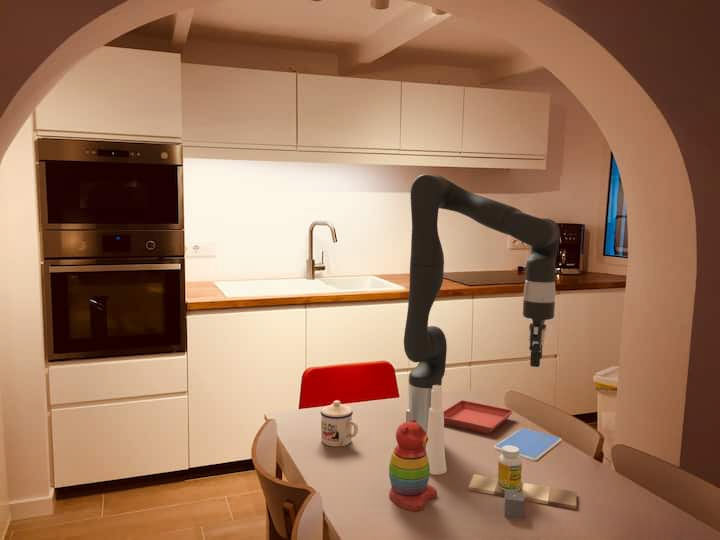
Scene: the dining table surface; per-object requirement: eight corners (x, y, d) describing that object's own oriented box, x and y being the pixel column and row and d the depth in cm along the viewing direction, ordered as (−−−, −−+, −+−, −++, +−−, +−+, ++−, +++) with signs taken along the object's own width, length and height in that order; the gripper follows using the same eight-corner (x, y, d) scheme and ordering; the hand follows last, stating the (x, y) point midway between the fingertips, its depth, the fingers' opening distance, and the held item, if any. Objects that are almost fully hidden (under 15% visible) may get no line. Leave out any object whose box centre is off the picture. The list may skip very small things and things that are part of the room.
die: (504, 516, 128) (504, 498, 127) (503, 507, 132) (504, 490, 131) (523, 518, 127) (524, 501, 126) (522, 509, 131) (523, 492, 130)
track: (468, 489, 139) (468, 486, 139) (473, 477, 146) (473, 474, 146) (576, 509, 131) (576, 506, 131) (576, 495, 137) (576, 491, 137)
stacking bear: (419, 513, 128) (421, 435, 126) (379, 501, 134) (380, 425, 132) (439, 493, 137) (441, 420, 135) (401, 482, 143) (403, 411, 141)
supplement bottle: (508, 480, 143) (509, 442, 142) (525, 488, 138) (527, 449, 137) (492, 485, 140) (494, 447, 139) (509, 494, 135) (511, 455, 134)
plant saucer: (436, 425, 181) (436, 414, 181) (461, 408, 196) (461, 399, 196) (492, 438, 171) (492, 427, 171) (513, 420, 186) (514, 410, 186)
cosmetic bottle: (427, 462, 154) (429, 381, 151) (449, 467, 151) (452, 384, 149) (419, 472, 148) (421, 387, 146) (442, 477, 146) (444, 391, 143)
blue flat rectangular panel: (522, 430, 178) (522, 426, 178) (562, 441, 170) (563, 437, 170) (492, 450, 163) (492, 446, 163) (535, 463, 155) (536, 459, 155)
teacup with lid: (313, 441, 166) (314, 402, 165) (334, 432, 174) (334, 394, 172) (346, 453, 159) (347, 411, 158) (366, 442, 166) (367, 402, 165)
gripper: (553, 304, 138) (550, 371, 140) (556, 295, 151) (553, 357, 153) (520, 302, 141) (518, 367, 143) (526, 293, 154) (523, 354, 156)
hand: (536, 362), depth 148 cm, fingers open, 8 cm apart
